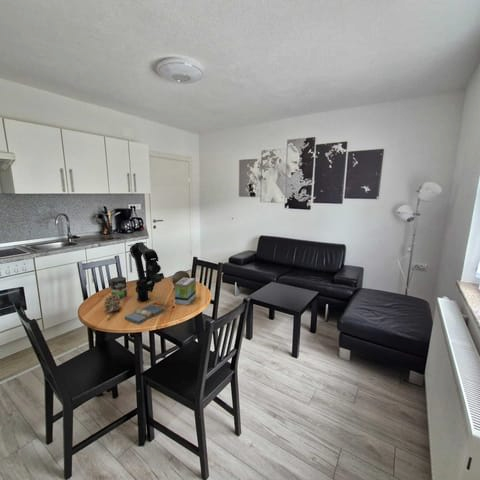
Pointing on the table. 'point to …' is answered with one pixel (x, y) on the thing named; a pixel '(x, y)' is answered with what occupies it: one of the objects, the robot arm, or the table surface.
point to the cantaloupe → (179, 276)
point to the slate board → (139, 318)
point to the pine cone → (112, 303)
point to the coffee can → (119, 287)
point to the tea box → (185, 291)
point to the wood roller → (143, 313)
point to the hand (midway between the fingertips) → (151, 291)
